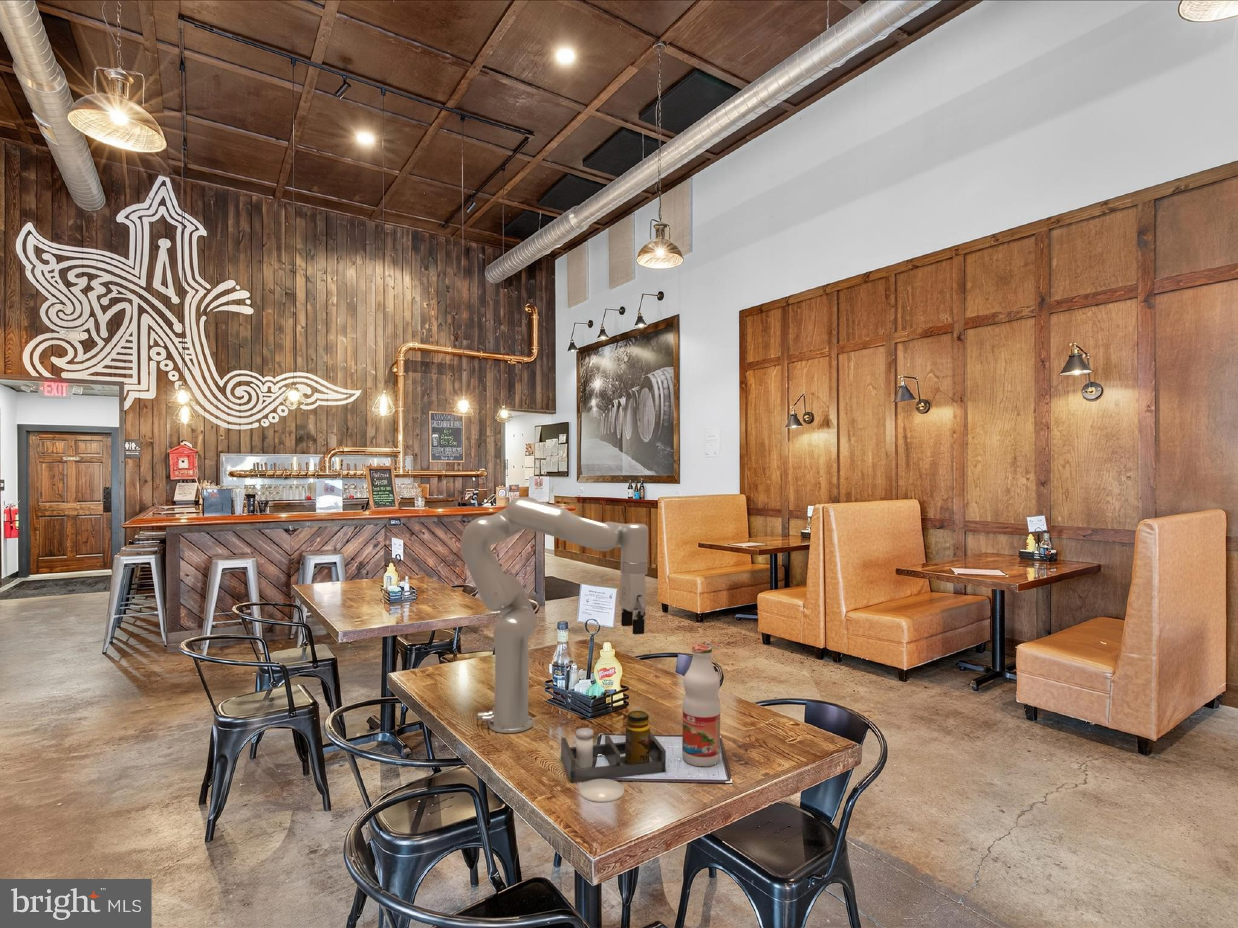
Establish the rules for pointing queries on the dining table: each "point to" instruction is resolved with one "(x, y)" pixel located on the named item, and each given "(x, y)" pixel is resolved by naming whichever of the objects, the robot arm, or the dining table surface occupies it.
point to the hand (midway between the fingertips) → (632, 629)
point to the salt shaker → (584, 748)
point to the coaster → (601, 790)
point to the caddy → (613, 761)
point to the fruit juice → (701, 710)
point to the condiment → (637, 738)
